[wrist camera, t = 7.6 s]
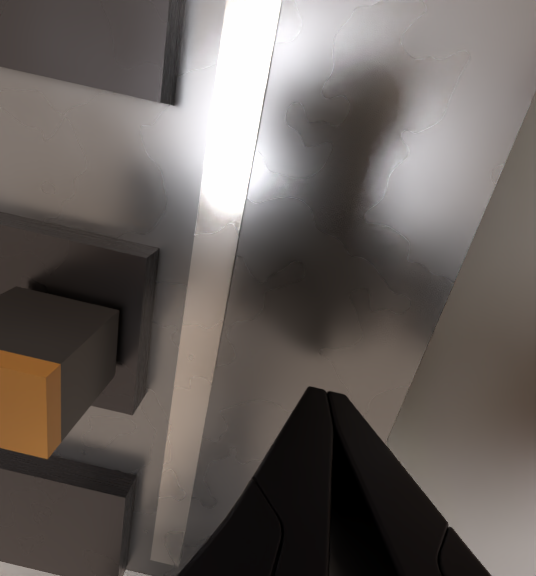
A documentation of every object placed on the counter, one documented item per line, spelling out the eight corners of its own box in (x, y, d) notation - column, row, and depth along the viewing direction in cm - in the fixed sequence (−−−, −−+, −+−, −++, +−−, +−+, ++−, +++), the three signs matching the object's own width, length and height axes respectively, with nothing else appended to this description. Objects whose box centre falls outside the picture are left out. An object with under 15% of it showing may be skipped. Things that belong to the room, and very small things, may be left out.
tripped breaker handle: (115, 375, 9) (48, 459, 7) (19, 353, 9) (-82, 429, 7) (119, 310, 9) (46, 378, 6) (16, 286, 9) (-97, 344, 6)
